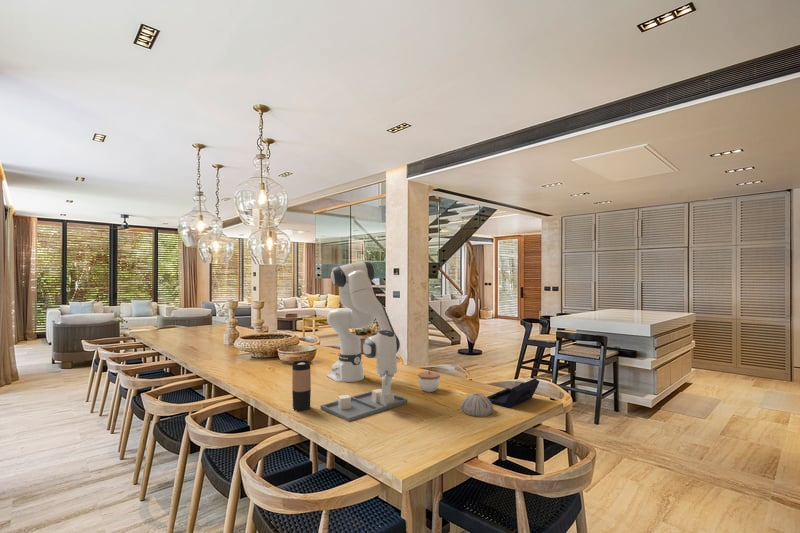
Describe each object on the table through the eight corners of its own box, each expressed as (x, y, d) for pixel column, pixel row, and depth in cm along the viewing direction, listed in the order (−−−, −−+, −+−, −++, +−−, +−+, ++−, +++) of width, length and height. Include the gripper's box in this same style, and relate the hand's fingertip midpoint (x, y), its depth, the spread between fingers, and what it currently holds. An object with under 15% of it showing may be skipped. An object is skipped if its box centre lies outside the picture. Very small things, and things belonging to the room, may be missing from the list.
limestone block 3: (379, 403, 174) (379, 393, 174) (387, 401, 177) (387, 391, 177) (386, 406, 171) (386, 395, 171) (394, 403, 174) (394, 393, 174)
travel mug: (289, 409, 171) (288, 362, 171) (304, 404, 176) (304, 359, 176) (298, 413, 165) (298, 365, 165) (314, 409, 171) (314, 362, 171)
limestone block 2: (371, 400, 179) (371, 390, 179) (380, 398, 181) (380, 388, 181) (376, 403, 175) (376, 393, 175) (385, 401, 177) (385, 391, 177)
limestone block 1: (338, 406, 172) (338, 395, 172) (348, 404, 173) (348, 394, 173) (340, 409, 167) (340, 398, 167) (351, 408, 169) (351, 397, 169)
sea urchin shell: (492, 408, 171) (492, 390, 171) (494, 420, 157) (494, 400, 157) (461, 407, 173) (461, 388, 173) (460, 418, 160) (460, 398, 160)
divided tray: (320, 410, 169) (320, 405, 169) (378, 393, 191) (378, 389, 191) (348, 423, 155) (348, 418, 155) (407, 404, 177) (407, 399, 177)
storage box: (507, 393, 192) (507, 372, 192) (539, 401, 181) (539, 379, 181) (483, 403, 177) (483, 381, 177) (517, 413, 166) (516, 389, 166)
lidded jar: (439, 394, 190) (438, 374, 190) (416, 392, 193) (416, 373, 193) (441, 387, 201) (441, 368, 201) (420, 386, 203) (420, 367, 203)
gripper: (393, 374, 164) (393, 408, 164) (394, 362, 184) (394, 392, 184) (378, 374, 164) (378, 408, 164) (380, 362, 184) (380, 392, 184)
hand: (386, 400), depth 174 cm, fingers closed on limestone block 3, 6 cm apart
